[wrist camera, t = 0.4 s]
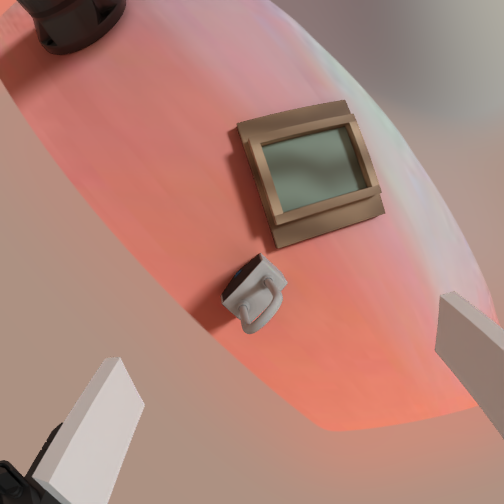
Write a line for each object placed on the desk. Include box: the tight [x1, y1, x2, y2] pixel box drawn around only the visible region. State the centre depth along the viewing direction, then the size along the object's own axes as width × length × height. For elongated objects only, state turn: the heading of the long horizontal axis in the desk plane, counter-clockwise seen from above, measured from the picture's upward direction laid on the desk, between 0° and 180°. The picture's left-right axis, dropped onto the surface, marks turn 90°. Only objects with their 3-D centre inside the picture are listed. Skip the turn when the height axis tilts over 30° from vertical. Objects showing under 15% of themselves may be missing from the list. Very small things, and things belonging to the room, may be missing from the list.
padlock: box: [221, 253, 288, 334], centre depth 27 cm, size 7×4×15 cm, turn 137°
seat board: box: [237, 100, 385, 248], centre depth 33 cm, size 15×14×3 cm
